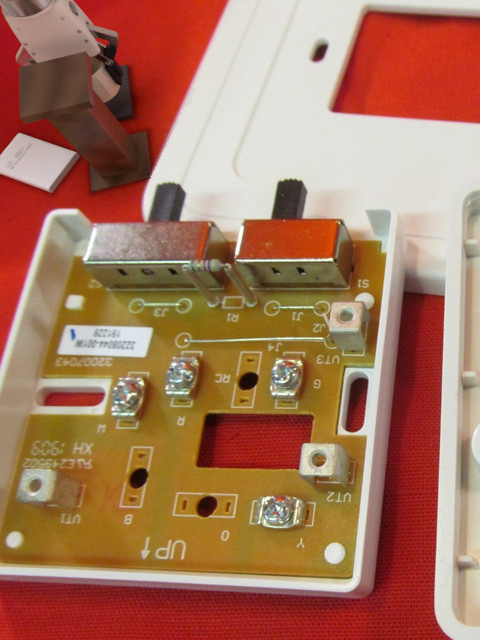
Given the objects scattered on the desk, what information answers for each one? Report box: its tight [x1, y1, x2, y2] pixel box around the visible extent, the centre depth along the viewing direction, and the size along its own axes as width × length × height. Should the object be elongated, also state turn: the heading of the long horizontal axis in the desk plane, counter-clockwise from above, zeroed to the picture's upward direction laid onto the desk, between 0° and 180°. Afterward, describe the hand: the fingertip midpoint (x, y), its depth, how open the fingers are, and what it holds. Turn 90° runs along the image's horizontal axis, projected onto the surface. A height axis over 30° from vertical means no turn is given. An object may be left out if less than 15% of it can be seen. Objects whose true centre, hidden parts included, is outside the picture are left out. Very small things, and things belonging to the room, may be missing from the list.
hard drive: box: [0, 132, 81, 194], centre depth 117 cm, size 2×8×12 cm
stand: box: [18, 51, 153, 193], centre depth 108 cm, size 10×10×18 cm
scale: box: [104, 64, 135, 123], centre depth 121 cm, size 11×13×3 cm
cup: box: [90, 57, 120, 103], centre depth 115 cm, size 7×7×5 cm
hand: (96, 84), depth 116 cm, fingers closed on cup, 7 cm apart
